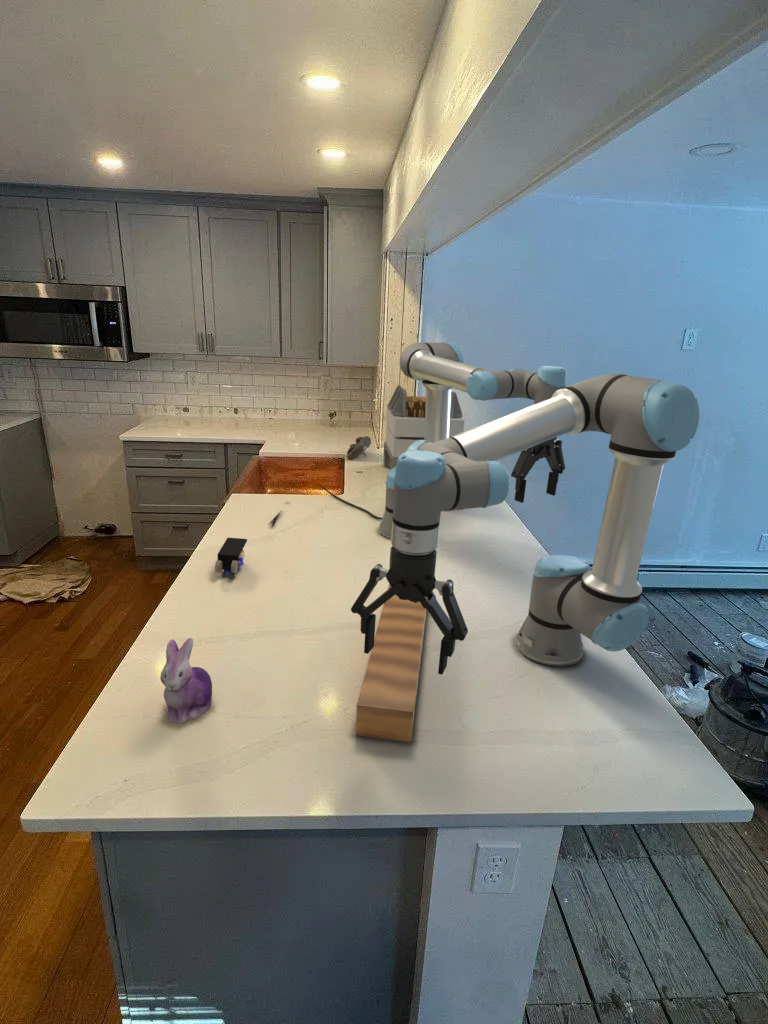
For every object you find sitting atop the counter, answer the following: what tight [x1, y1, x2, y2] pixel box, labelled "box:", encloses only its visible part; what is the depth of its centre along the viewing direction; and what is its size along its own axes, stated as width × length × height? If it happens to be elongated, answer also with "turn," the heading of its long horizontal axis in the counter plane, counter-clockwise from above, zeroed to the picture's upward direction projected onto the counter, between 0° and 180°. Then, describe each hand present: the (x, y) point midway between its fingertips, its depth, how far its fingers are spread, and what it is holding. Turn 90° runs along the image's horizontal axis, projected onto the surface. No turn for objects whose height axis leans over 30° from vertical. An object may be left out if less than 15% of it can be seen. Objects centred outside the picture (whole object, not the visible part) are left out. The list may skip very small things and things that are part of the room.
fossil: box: [346, 435, 372, 461], centre depth 300 cm, size 22×10×15 cm
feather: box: [268, 510, 282, 527], centre depth 212 cm, size 2×28×2 cm
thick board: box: [355, 583, 428, 743], centre depth 128 cm, size 53×10×7 cm, turn 173°
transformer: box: [383, 384, 465, 471], centre depth 268 cm, size 34×33×41 cm
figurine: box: [159, 637, 213, 724], centre depth 107 cm, size 9×10×15 cm
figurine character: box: [214, 537, 248, 578], centre depth 166 cm, size 7×8×15 cm
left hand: (535, 497), depth 163 cm, fingers open, 13 cm apart
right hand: (404, 659), depth 99 cm, fingers open, 13 cm apart
